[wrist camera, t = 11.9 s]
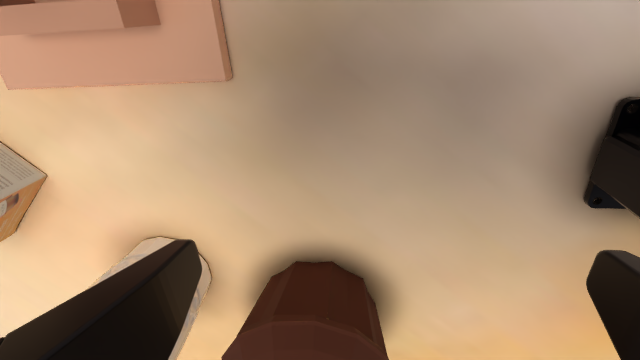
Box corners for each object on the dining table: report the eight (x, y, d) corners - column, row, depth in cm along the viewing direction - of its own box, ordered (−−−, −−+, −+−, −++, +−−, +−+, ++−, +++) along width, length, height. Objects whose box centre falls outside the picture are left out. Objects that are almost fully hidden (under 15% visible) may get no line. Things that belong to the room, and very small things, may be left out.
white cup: (227, 305, 28) (166, 438, 20) (144, 301, 29) (50, 426, 21) (206, 230, 25) (118, 352, 16) (112, 229, 26) (-19, 343, 17)
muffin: (294, 220, 23) (252, 348, 15) (420, 289, 25) (451, 443, 16) (230, 312, 29) (172, 447, 20) (338, 365, 30) (327, 511, 22)
